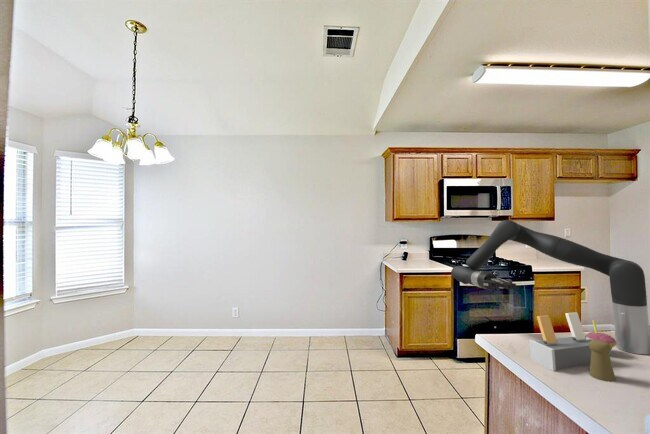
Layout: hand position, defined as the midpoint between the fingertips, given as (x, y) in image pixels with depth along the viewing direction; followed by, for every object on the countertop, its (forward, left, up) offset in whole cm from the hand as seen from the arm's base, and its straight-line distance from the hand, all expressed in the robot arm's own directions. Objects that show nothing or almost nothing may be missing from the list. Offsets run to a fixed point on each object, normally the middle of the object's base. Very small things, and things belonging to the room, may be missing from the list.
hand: (513, 286), depth 118 cm
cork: (-7, +26, -24) cm, 36 cm away
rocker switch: (-12, +15, -17) cm, 26 cm away
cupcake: (-25, +12, -24) cm, 36 cm away
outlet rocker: (0, +15, -17) cm, 23 cm away
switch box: (-6, +15, -24) cm, 29 cm away
